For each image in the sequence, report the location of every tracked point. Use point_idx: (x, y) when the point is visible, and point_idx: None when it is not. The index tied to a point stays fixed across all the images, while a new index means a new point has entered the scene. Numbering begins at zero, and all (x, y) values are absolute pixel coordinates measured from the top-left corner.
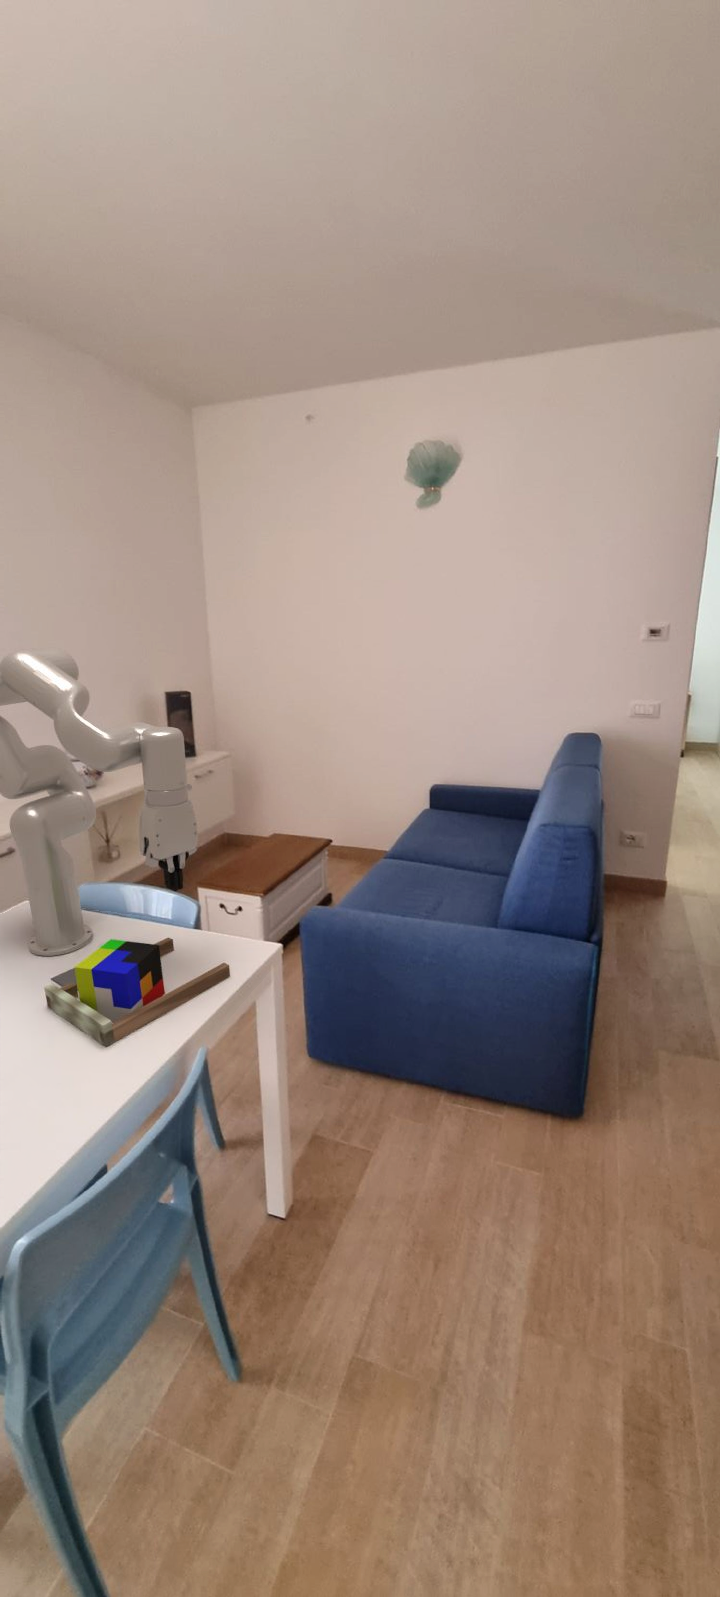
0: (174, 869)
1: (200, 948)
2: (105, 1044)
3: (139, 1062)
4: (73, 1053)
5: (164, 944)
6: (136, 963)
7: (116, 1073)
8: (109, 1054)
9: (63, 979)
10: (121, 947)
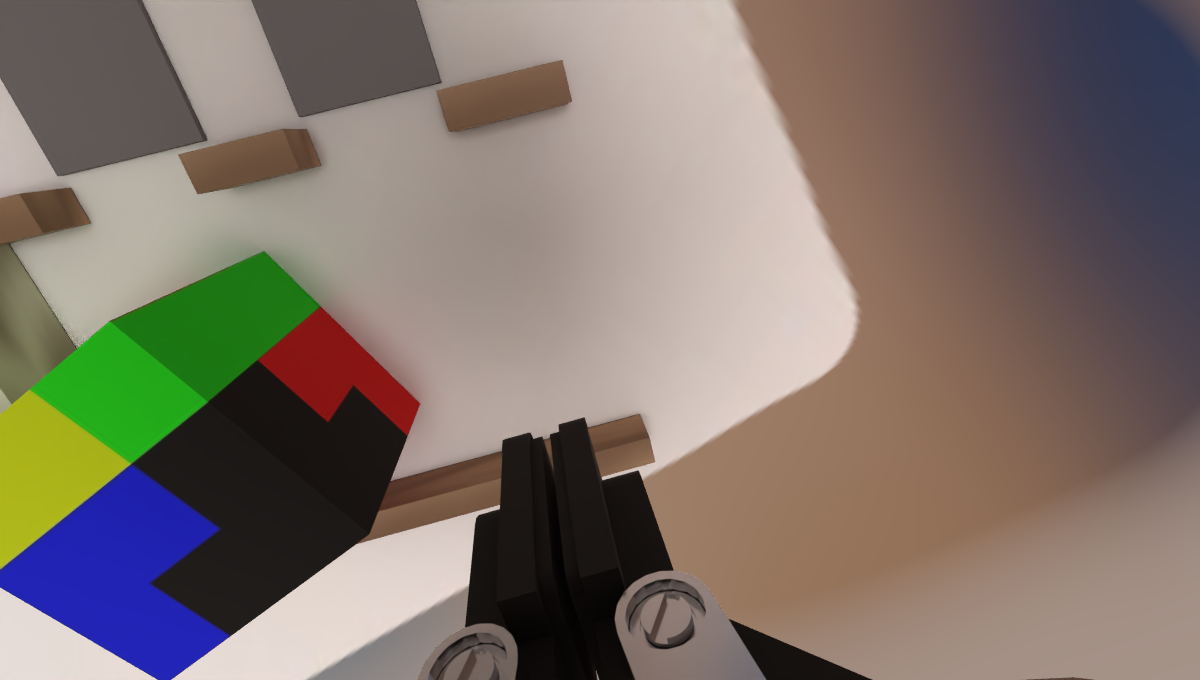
0: (601, 672)
1: (665, 172)
2: None
3: (264, 654)
4: None
5: (521, 113)
6: (225, 632)
7: (199, 663)
8: None
9: (1, 16)
10: (170, 454)
